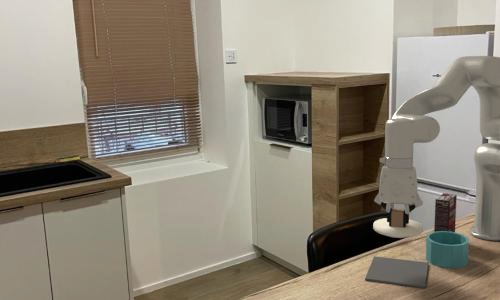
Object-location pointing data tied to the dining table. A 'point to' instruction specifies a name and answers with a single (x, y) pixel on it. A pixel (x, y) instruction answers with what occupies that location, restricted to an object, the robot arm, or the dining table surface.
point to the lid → (397, 226)
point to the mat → (398, 272)
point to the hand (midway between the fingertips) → (397, 224)
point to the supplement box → (445, 213)
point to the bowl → (447, 249)
